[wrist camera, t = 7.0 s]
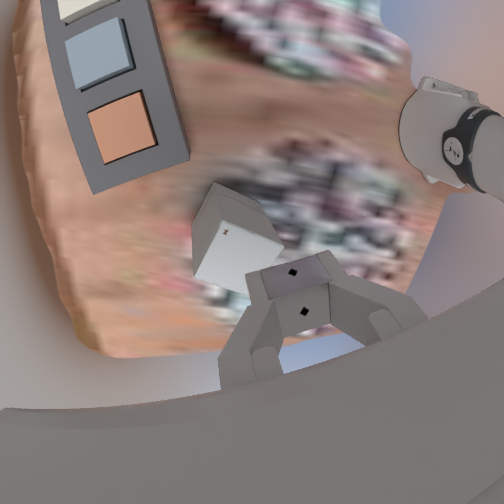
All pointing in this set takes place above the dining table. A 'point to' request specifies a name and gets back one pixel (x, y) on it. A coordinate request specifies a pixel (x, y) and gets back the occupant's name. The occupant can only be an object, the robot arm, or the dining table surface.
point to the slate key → (100, 54)
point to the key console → (118, 93)
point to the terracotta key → (123, 127)
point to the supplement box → (231, 239)
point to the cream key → (80, 8)
